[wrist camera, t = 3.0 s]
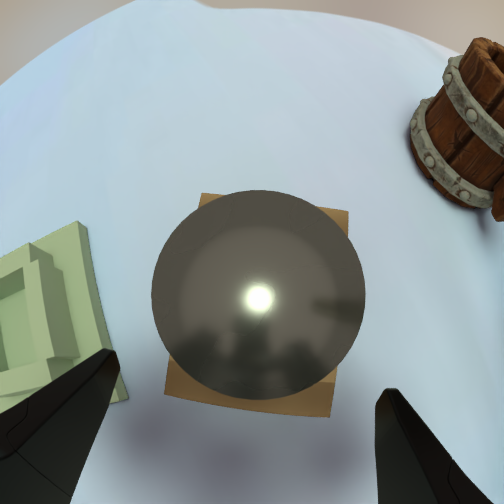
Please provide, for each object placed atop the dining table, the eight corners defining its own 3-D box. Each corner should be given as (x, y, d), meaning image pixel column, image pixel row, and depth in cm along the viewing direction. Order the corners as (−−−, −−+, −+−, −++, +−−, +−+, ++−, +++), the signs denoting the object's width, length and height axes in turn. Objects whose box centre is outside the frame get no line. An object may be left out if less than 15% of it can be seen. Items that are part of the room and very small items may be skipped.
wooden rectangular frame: (318, 407, 17) (329, 417, 14) (177, 388, 18) (164, 394, 15) (337, 229, 21) (348, 211, 18) (208, 213, 21) (201, 192, 18)
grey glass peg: (261, 375, 18) (269, 442, 5) (213, 334, 19) (112, 296, 6) (302, 327, 19) (401, 275, 6) (254, 287, 20) (248, 157, 6)
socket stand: (128, 398, 17) (97, 408, 13) (10, 420, 16) (-25, 425, 12) (86, 227, 21) (56, 202, 17) (-15, 280, 20) (-48, 266, 16)
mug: (470, 110, 25) (545, 37, 10) (506, 235, 23) (616, 199, 8) (385, 98, 25) (453, -14, 10) (421, 244, 23) (562, 192, 8)
